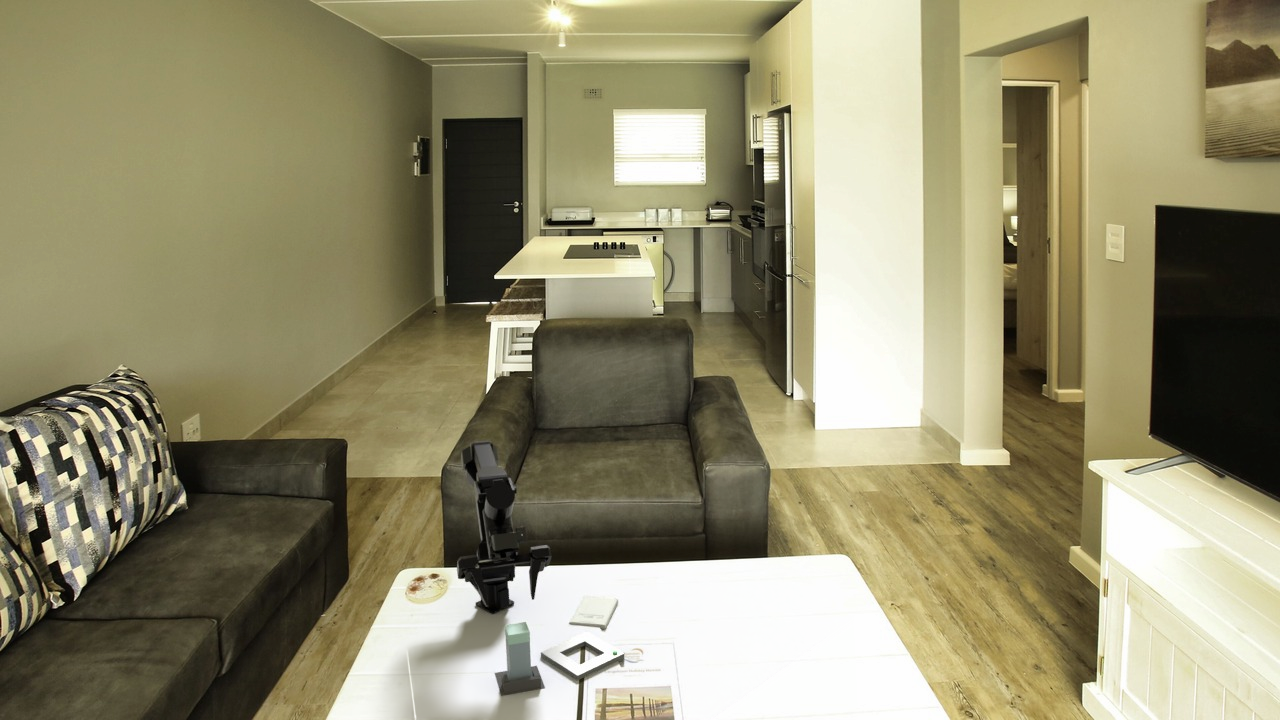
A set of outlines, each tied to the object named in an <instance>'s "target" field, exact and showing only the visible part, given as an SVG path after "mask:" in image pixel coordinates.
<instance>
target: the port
mask: <svg viewBox="0 0 1280 720" xmlns="http://www.w3.org/2000/svg"><path fill="white" fill-rule="evenodd" d="M583 647H586V648H588V649H590V650H591V651H593V652H595V653H596V654H599V655H598V656H596V657H593V658H592V659H590V660H587V661H585V662H582V663H581V664H579V663H577V662H576V661H574V660H573V659H571V658H569V657H568V656H567V655H568V654H569V653H572V652H574V651H576V650H578V649H581V648H583ZM540 658H542V659H544V660H545V661H547V662H548V663H550V664H551V665H552V666H555V667H557V668H558V669H559V670H561V671H562V672H564V673H565V674H567V675H568V676H570V677H571V678H573V679H574V680H576V681H580V680H581V679H584V678H586V677H589V676H590V675H592V674H594V673H596V672H598V671H601V670H602V669H605V668H607V667H609V666H611V665H613V664H615V663H617V662H619V663H621V662H623V661H625V653H624V652H623V651H621V650H619V649H618V648H616V647H614V646H613V645H610V643H607V642H606V641H603V640H602V639H600V638H599V637H597V636H595V635H594V634H592V633H590V632H588V631H585V632H583V633H580V634H578V635H575V636H574V637H572V638H569V639H567V640H565V641H563V642H561V643H558V644H556V645H553V646H551V647H549V648H547V649H545V650H542V651H540Z"/></svg>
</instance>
